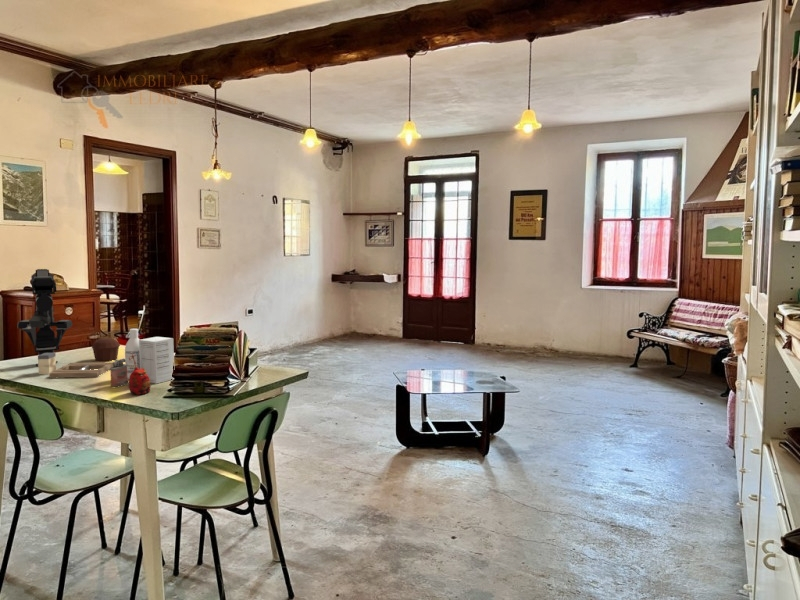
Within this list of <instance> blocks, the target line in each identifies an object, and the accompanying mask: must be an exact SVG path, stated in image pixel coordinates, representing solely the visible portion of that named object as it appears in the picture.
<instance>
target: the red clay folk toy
mask: <svg viewBox="0 0 800 600" xmlns="http://www.w3.org/2000/svg"><path fill="white" fill-rule="evenodd" d="M131 354H132V353H131ZM135 356H136V355H135ZM130 357H131V358H130ZM130 357H129V360H131V359H132V358H133V360H134V364H135V369H134V371H133V372H132V373H131V375H130V379H128V388H129V392H130V394H132V395H133V394H135V395H136V396H140V395H143V394H148V393H150V391H151V388H152V387H151V386H152V385H151V383H150V379H149V377H148V375H147V373H146V371H145V370H144V369H143V368H142V369H138V368H137V366H136V362H135V359H134V356H133V354H132V356H130ZM135 395H134V396H135Z"/></svg>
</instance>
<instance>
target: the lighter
mask: <svg viewBox="0 0 800 600" xmlns="http://www.w3.org/2000/svg"><path fill="white" fill-rule="evenodd" d="M112 362H113V367H111V368H110V370H109V371H110V388H111V387H117V388H119V387H118V386H121V385H124V384H126V385H128V384H129V379H128V374H127V367H128V364H125V362H126V360H125V358H121V359H116V360H114V361H112ZM127 383H128V384H127ZM124 386H125V385H124ZM121 387H122V386H121Z"/></svg>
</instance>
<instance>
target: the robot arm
mask: <svg viewBox="0 0 800 600" xmlns="http://www.w3.org/2000/svg"><path fill="white" fill-rule="evenodd" d="M30 278H31V279H30V280H31V289H32V295H33V296H34V295H35V308H36V309H35V310H34V315H33V316H31V317H30V319H23V320H20V321H18V322H17V324H16V325H17V326H16V327H17V329H19V330H20V329H21V331H23V332H25V333H26V334H27V336H28V337H29V339H30V341H31V344H32V345H33V346H34V353H37V352H38V355H41V354H43V353H55V351H58V350H60V344H61V341H62V340H63V337H64V335H65V332H66V331H67V330H68V329H70V328H72V327H73V321H72V320H71V319H61V320H57V321H55V318H54V312H55V309H54V308H53V307H54V306H53V305H54V302H53V295H55V294H56V292H57V282H56V281H55V278H54V275H53V273H51V272H50V269H47V268H37V269H35V273H33V274H32V275H31V277H30ZM51 327H56V329H55V331H54V329H52V328H51ZM37 328H38V330H37ZM55 332H56V334H55ZM57 363H58V361H57V360H56V364H57ZM35 366H38V363H36V364H35Z"/></svg>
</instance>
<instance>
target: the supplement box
mask: <svg viewBox="0 0 800 600" xmlns="http://www.w3.org/2000/svg"><path fill="white" fill-rule="evenodd" d="M174 351H175V350H174V338H173V337H164V336H153V337H147V338H143V339H140V340H139V355H140V369H142V368H143V369H144V370H145V371H146V373H147V375H148V377H149V379H150V384H159V383H160V384H161V383H163V382H164V383H165V382H169V381H172V380H173V379H172V368H173V360H174V361H175V352H174ZM171 379H172V380H171Z"/></svg>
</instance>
